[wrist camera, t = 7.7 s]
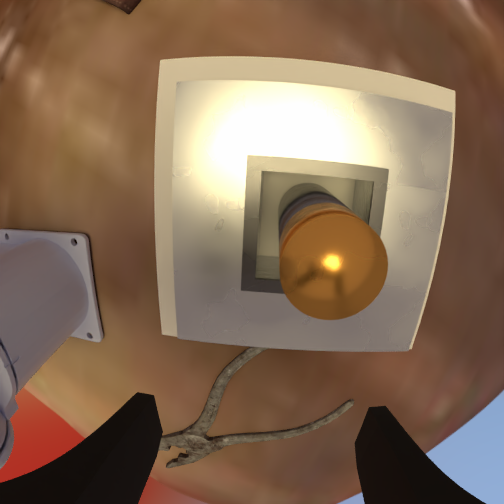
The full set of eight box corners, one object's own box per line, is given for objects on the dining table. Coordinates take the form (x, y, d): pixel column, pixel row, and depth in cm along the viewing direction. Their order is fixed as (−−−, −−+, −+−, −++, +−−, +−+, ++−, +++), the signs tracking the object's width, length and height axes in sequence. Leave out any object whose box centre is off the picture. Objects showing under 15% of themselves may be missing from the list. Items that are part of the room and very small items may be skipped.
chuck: (191, 310, 18) (176, 340, 15) (194, 92, 14) (175, 80, 11) (392, 322, 17) (409, 353, 14) (424, 116, 14) (454, 112, 11)
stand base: (166, 326, 20) (162, 334, 19) (166, 64, 15) (160, 59, 14) (406, 340, 19) (411, 349, 18) (446, 93, 14) (455, 91, 13)
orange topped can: (278, 240, 16) (278, 320, 9) (277, 182, 15) (279, 215, 8) (335, 240, 16) (380, 318, 9) (337, 183, 15) (393, 216, 8)
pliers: (372, 391, 20) (223, 492, 26) (370, 384, 21) (224, 486, 27) (265, 326, 19) (140, 454, 25) (265, 319, 20) (143, 448, 25)
